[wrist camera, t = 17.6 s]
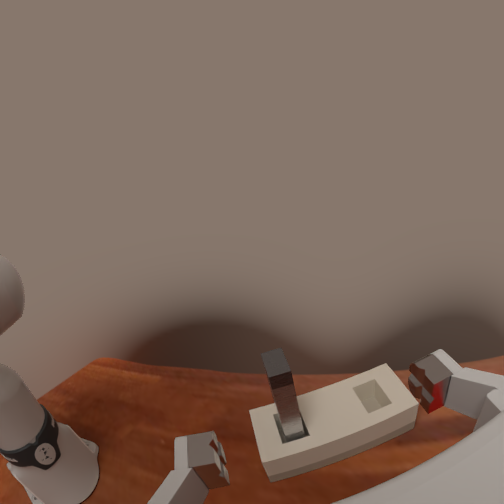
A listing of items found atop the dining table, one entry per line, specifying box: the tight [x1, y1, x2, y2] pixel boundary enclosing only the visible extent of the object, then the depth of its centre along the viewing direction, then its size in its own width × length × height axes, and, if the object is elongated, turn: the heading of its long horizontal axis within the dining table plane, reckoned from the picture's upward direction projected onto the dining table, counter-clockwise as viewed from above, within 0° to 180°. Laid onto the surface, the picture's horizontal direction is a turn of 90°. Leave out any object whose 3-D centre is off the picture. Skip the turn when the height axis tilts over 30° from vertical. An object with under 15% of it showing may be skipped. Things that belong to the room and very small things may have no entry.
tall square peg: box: [261, 348, 305, 443], centre depth 38 cm, size 4×2×16 cm, turn 10°
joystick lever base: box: [249, 364, 419, 482], centre depth 41 cm, size 22×10×6 cm, turn 100°
